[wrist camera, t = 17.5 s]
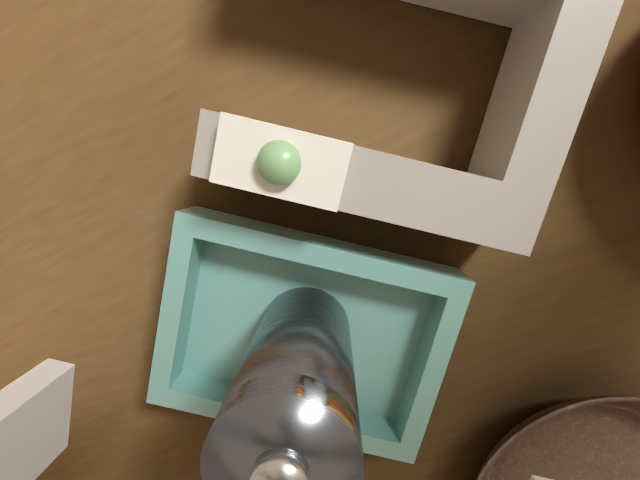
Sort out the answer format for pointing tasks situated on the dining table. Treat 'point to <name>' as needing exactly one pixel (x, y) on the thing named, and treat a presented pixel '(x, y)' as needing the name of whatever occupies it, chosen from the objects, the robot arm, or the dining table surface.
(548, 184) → the white hook bar
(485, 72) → the dining table surface
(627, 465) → the saucer
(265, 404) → the cell
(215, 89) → the dining table surface
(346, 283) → the trough
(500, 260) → the dining table surface
